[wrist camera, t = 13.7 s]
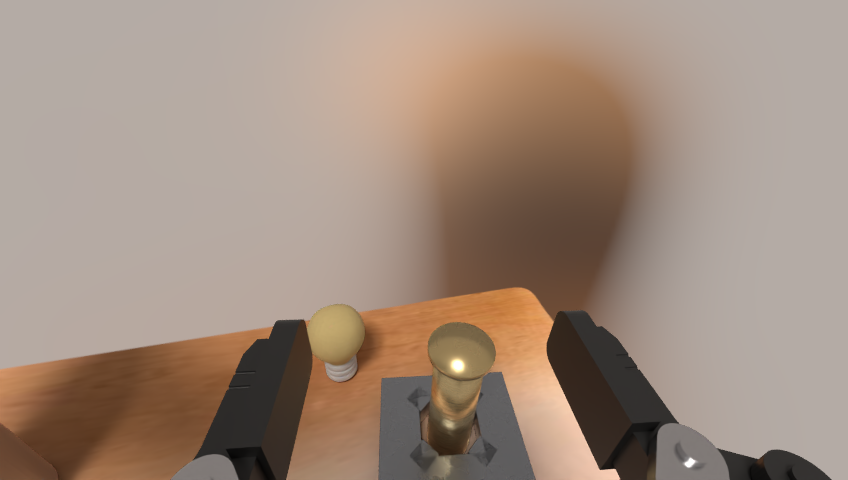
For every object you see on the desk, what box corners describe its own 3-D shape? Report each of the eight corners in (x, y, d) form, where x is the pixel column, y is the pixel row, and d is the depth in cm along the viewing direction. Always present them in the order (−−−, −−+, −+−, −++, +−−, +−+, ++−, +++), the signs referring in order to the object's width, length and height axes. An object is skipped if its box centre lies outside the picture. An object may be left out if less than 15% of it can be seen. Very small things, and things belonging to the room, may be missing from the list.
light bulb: (364, 345, 44) (358, 288, 39) (372, 386, 39) (367, 328, 34) (314, 356, 43) (301, 299, 37) (317, 401, 38) (302, 342, 32)
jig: (379, 504, 30) (378, 492, 28) (382, 391, 39) (381, 378, 38) (529, 491, 31) (535, 479, 30) (498, 384, 40) (501, 372, 39)
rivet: (424, 468, 32) (432, 379, 25) (419, 412, 37) (424, 323, 29) (480, 463, 33) (504, 374, 25) (468, 409, 38) (485, 320, 30)
